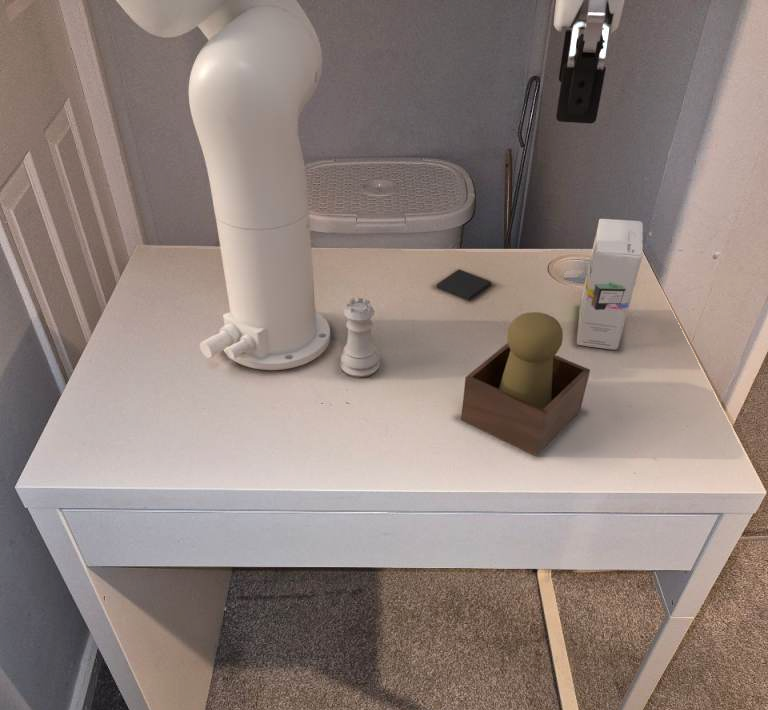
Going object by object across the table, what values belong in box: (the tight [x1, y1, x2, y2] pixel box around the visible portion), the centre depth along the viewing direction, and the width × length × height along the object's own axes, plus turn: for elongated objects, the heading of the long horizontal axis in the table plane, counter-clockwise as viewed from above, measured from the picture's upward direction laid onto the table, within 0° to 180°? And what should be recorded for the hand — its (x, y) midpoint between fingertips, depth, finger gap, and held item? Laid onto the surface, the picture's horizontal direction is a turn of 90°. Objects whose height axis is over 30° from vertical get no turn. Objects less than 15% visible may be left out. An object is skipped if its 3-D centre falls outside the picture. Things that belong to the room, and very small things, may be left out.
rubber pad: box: [436, 269, 492, 301], centre depth 97 cm, size 5×5×1 cm
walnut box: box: [460, 342, 591, 457], centre depth 77 cm, size 9×9×5 cm
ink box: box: [576, 218, 644, 351], centre depth 87 cm, size 8×5×12 cm, turn 167°
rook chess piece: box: [339, 296, 381, 379], centre depth 82 cm, size 4×4×8 cm
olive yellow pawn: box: [499, 311, 564, 409], centre depth 75 cm, size 6×6×11 cm
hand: (575, 100), depth 65 cm, fingers open, 9 cm apart
